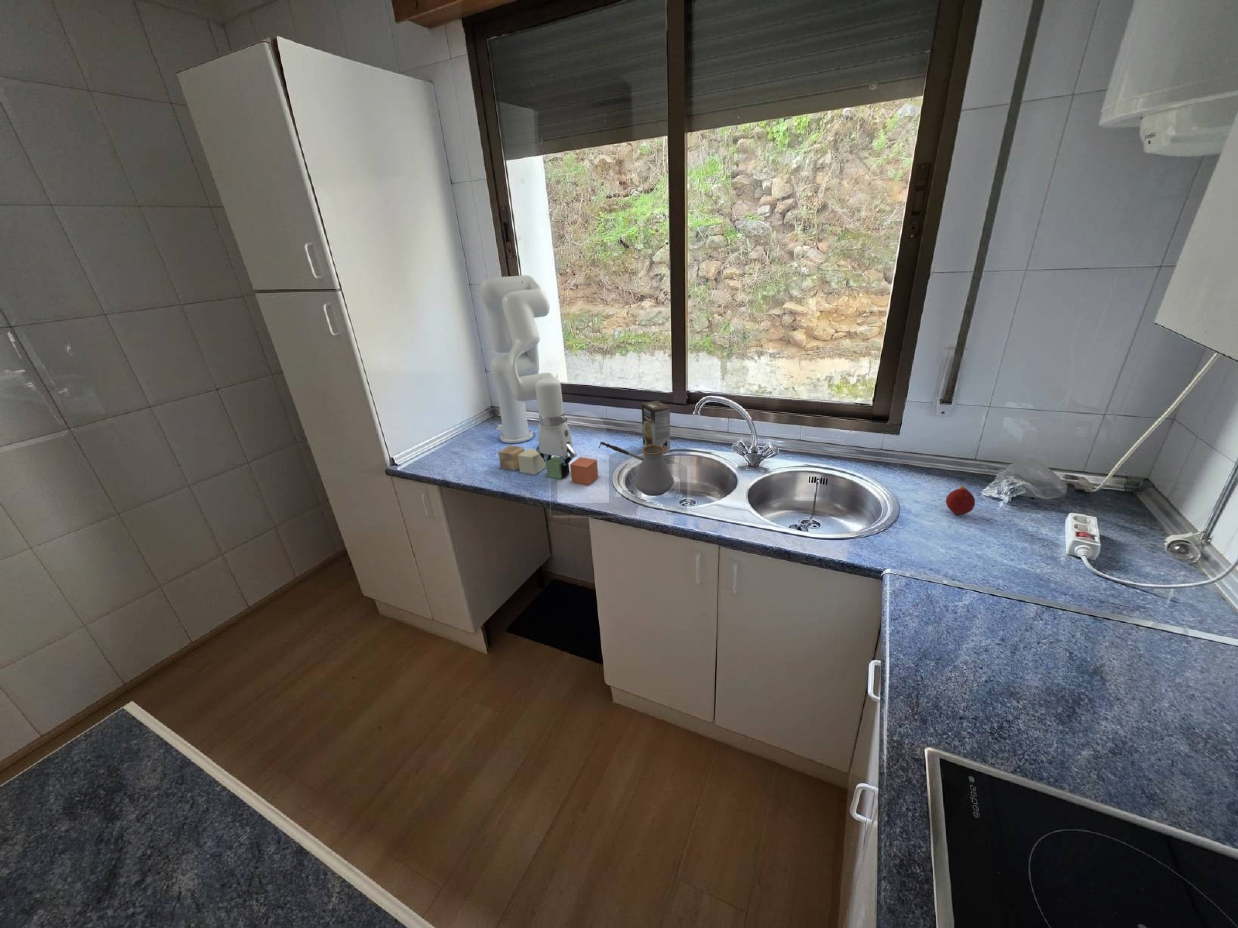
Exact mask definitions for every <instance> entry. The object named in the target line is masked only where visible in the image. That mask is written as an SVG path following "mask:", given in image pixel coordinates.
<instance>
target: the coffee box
mask: <svg viewBox="0 0 1238 928" xmlns="http://www.w3.org/2000/svg"><path fill="white" fill-rule="evenodd" d="M640 405H641V426H642V427H641V428H642V446H643V447H642V448H644V447H646V446H650V445H658V446H661V447H663V448H664V449H665V451H664V452H663V454H665V453H669V452H671V407H670V406H668V405H667V404H664V403H663V402H660V401H659V400H654V401H647V402H646V401H645V402H642V403H641V404H640Z"/></svg>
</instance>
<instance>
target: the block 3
mask: <svg viewBox="0 0 1238 928" xmlns="http://www.w3.org/2000/svg"><path fill="white" fill-rule="evenodd" d="M569 470H570V477H571V483H574V484H578V485H579V484H580V485H585V486H589V485H591V484H592V483H593V482H595V481H596V480H597V479H598V478H599V468H598V460H597V459H595V458H588V457H583V456H580V457H578V458H577V459H576V460H574V461H573V462H571V463H569Z"/></svg>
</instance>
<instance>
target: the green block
mask: <svg viewBox="0 0 1238 928" xmlns="http://www.w3.org/2000/svg"><path fill="white" fill-rule="evenodd" d="M565 460H566V459H565ZM561 465H563V464H562V462H561V459H560V457H559V456H552V458H551V459H550V460H548V461H547V462H545V466H546V468H547V469H546V468H545V469H546V475H547V478H548V477H550V478H554V479H559V480H561V479H562V478H564V477H563V476H562V469H561Z"/></svg>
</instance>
